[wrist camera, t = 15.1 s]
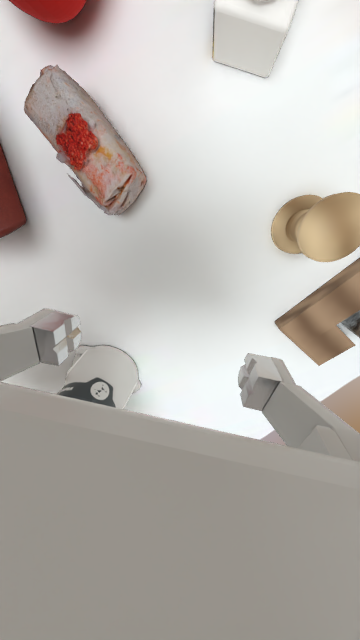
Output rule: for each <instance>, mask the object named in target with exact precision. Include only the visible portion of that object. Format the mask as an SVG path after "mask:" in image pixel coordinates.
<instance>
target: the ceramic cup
mask: <svg viewBox="0 0 360 640" xmlns="http://www.w3.org/2000/svg"><path fill="white" fill-rule="evenodd" d="M9 1H10V2H11V3H13V4H14V5H15V6H16V7H18V8H19V9H21V10H22V11H24V12H25V13H27V14H29V15H31V16H33V17H35V18H37V19H39V20H41V21H45V22H50V23H63V22H67V21H69V20H71V19H73V18H74V17H75V16H76V15H77V14H78V13H79V12H80V11H81V10H82V8H83V6H84V5H85V2H86V0H9Z"/></svg>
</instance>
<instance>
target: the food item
mask: <svg viewBox="0 0 360 640" xmlns="http://www.w3.org/2000/svg"><path fill="white" fill-rule="evenodd" d="M24 111H25V113H26V114H27V116H28V117H29V118H30V119H31V121H33V123H34V124H35V125H36V126H37V127H38V129H39V130H40V131H41V132H42V134H43V135H44V136H45V137H46V139H47V140H48V141H49V142H50V143H51V145H52V146H53V148H54V149H55V150H56V151H57V152H58V153H59V154H57V157H56V158H57V159H58V160H59V161H60V162H61V163H65V164H66V165H68V166H69V167H70V168H71V169H72V171H73V172H74V173H75V174H76V176H77V178H78V179H79V180H80V181H81V182H82V187H81V186H80V185H79V184H78V182H77V181H76V180H75V179H74V178H72V177H71V176H70V175H68V176H69V177H70V178H71V179H72V180H73V182H74V183H75V184H76V185H77V186H78V188H79V189H80V190H81V191H82V192H83V193H84V195H86V196H87V197H88V198H89V199H91V200H92V201H93V202H94V203H95V204H96V205H97V206H98V207H99V208H100V209H102V210H103V211H104V213H106V214H108V215H113V214H114V215H115V214H117V215H121V213H122V212H124V211H125V210H126V209H127V208H128V207H129V206H130V205H131V204H132V203H133V202H134V201H135V200H136V198H137V197H138V195H139V193H140V192H141V191H142V189H143V188H144V186H145V184H146V182H147V180H146V176H145V175H144V173H143V171H142V169H141V167H140V165H139V164H138V162H137V161H136V159H135V157H134V156H133V154H132V153H131V151H130V150H129V149H128V147H127V146H126V144H125V143H124V142H123V140H122V139H121V137H120V136H119V135H118V133H117V132H116V131H115V130H114V128H113V127H112V125H111V124H110V122H109V121H108V120H107V119H106V118H105V117H104V115H103V113H102V112H101V110H100V109H99V107H98V106H97V105H96V104H95V102H94V101H93V100H92V98H91V97H90V96H89V95H88V93H87V92H86V91H85V90H84V89H83V88H82V87H80V86H79V84H78V83H77V82H76V81H74V80H73V79H72V78H71V77H70V76H69V75H67V73H66V72H65V71H62V70H61V69H60V68H59V67H58V65H56V66H55V67H53V66H51V65H49V66H46V67H45V68H43V69H42V70H41V72H40V78H38V79H37V81H36V82H35V83H34V84H33V85H32V87H31V89H30V91H29V94H28V96H27V98H26V101H25V106H24Z"/></svg>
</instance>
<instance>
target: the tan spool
mask: <svg viewBox="0 0 360 640" xmlns="http://www.w3.org/2000/svg"><path fill="white" fill-rule="evenodd" d="M271 235H272V239H273V242H274V244H275V245H276V246H277V247H278V248H279V249H280V250H282V251H284V252H287V253H291V254H298V253H303V254H304V255H305V256H307V257H308V258H310V259H313V260H315V261H319V262H332V261H336V260H339V259H341V258H344V257H346V256H347V255H349V254H350V253H352V252H353V251H354V250H356V249H357V248H358V247H359V246H360V194H358V193H353V192H344V193H338V194H333V195H330V196H328V197H325V198H323V199H322V198H321V197H319V196H315V195H304V196H300V197H296V198H294V199H292V200H290V201H289V202H287V203H286V204H285V205H284V206H283V207H282V208H281V209H280V210H279V211H278V213H277V214H276V216H275V218H274V220H273V223H272V228H271Z"/></svg>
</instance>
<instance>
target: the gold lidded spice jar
mask: <svg viewBox="0 0 360 640" xmlns="http://www.w3.org/2000/svg"><path fill="white" fill-rule="evenodd" d="M341 323H342V324H343V325H344V326H345V327H347V328H348V329H349V330H350V331H352V332H353V333H354V334H355V335H357V336H358V337H359V338H360V310H359V311H358V312H356V313H355V314H353V315H351V316H350V317H348V318H347V319H345V320H344V321H342V322H341Z"/></svg>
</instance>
